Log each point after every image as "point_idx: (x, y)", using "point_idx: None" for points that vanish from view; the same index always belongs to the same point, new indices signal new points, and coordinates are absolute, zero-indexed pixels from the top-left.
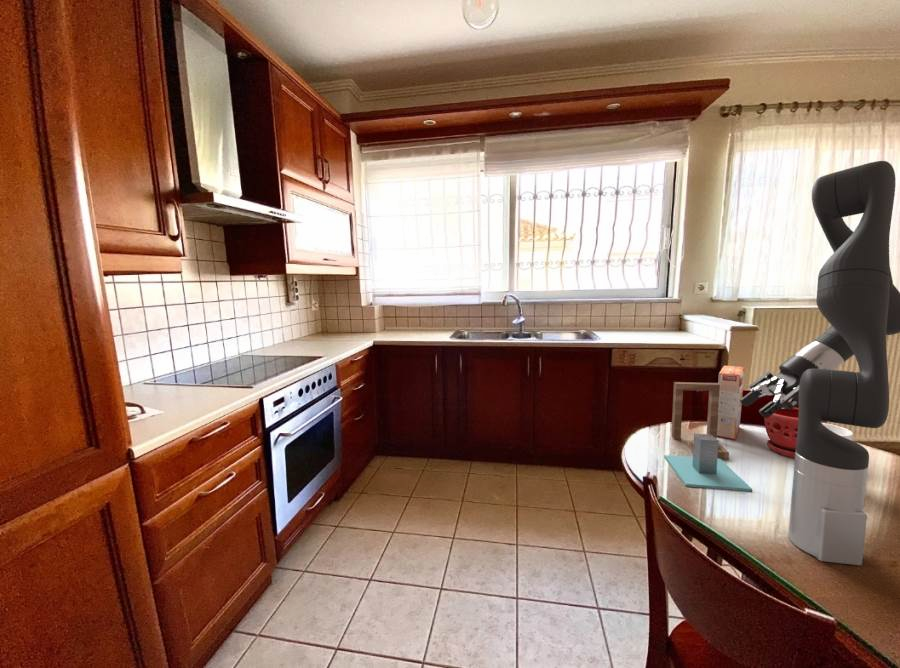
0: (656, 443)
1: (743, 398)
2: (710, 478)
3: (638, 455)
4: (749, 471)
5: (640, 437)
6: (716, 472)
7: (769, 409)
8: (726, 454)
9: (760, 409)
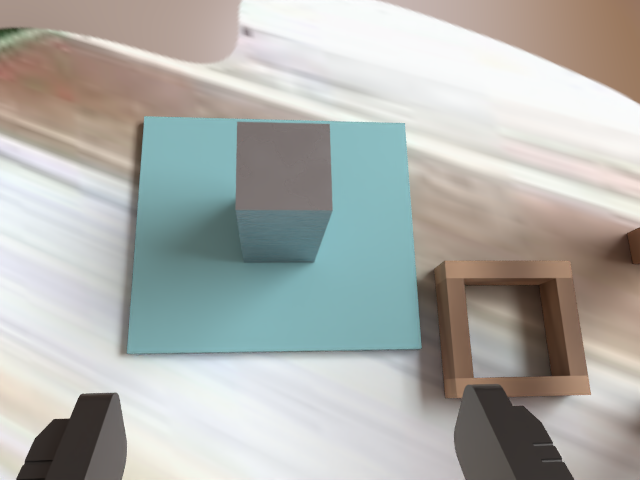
0: (548, 142)
1: (492, 410)
2: (202, 224)
3: (396, 39)
4: (325, 437)
5: (599, 97)
6: (243, 259)
7: (23, 474)
8: (451, 387)
9: (102, 407)
